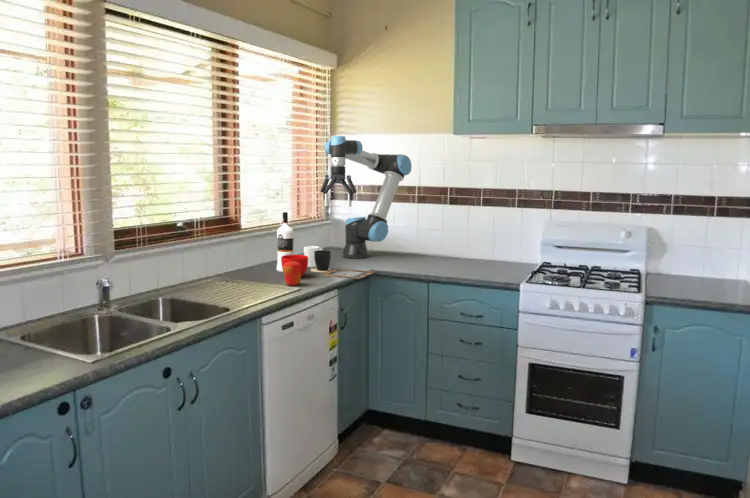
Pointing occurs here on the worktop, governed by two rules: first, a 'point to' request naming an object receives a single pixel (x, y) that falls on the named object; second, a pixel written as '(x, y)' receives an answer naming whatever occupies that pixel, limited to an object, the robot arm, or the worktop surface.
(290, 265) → the apple
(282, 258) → the ceramic cup
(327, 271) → the coaster
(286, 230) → the vodka
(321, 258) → the mug
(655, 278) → the worktop surface
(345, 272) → the brown wooden frame
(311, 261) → the cup
